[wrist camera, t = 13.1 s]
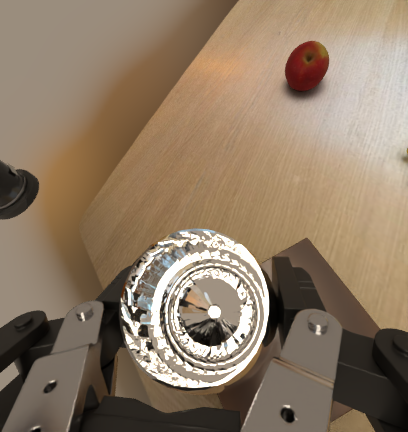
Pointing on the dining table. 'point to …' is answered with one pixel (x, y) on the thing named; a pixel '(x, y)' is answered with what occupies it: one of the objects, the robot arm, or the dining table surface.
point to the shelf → (334, 304)
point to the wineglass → (198, 312)
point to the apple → (307, 66)
